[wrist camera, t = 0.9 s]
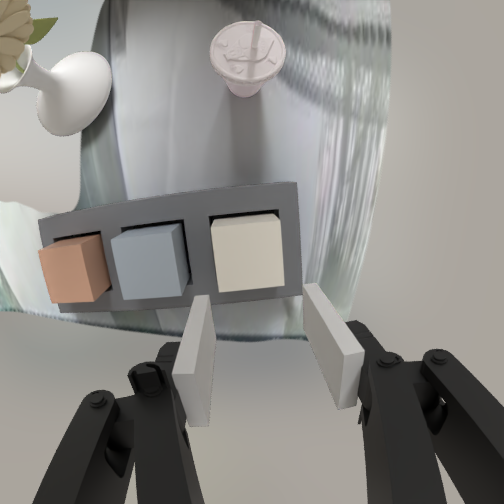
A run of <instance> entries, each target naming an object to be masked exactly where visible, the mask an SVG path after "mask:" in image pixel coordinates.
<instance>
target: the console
mask: <svg viewBox="0 0 504 504" xmlns="http://www.w3.org/2000/svg"><path fill="white" fill-rule="evenodd" d="M273 209H274V215H275V216H276V217H277V218H278V219H279V220H280V222H281V237H282V251H283V267H284V284H285V286H276V287H268V288H258V289H249V290H239V291H229V292H219V288H218V281H217V274H216V267H215V259H214V251H213V243H212V235H211V225H212V223H213V220H212V216H213V215H222V214H231V213H241V212H251V211H262V210H273ZM179 219H184V225H185V232H186V240H187V247H188V253H189V260H190V266H191V273H189V280H188V282H187V285H186V287H185V289H184V292H183V294H182V296H173V297H160V298H146V299H131V300H124V299H123V295H122V291H121V287H120V283H119V279H118V274H117V270H116V265H115V260H114V255H113V250H112V245H111V239H113V238H115V237H116V236H118V235H120V234H122V233H123V232H125V231H127V230H130V229H134V226H133V225H141V224H148V223H155V222H163V221H171V220H179ZM38 224H39V230H40V235H41V240H42V245H43V248H45V247H47V246H49V245H51V244H53V243H55V242H58V241H60V240H64V239H70V235H75V234H81V233H87V232H93V231H100V230H101V236H102V241H103V247H104V252H105V256H106V261H107V266H108V270H109V275H110V279H111V283H112V285H111V286H110V287H109V288H108V289H107V290H105V291H104V292H103V293H102V294H101V295H100V296H99V297H98V298H97V299H96V300H95V301H94V302H75V303H58V306H59V309H60V312H61V313H77V312H108V311H130V310H148V309H163V308H178V307H191V306H192V303H193V300H194V297H195V296H198V295H209V298H210V304H211V305H214V304H225V303H236V302H246V301H255V300H264V299H273V298H282V297H290V296H298V295H303V290H302V263H301V241H300V223H299V208H298V193H297V182H277V183H265V184H254V185H243V186H233V187H223V188H214V189H206V190H198V191H190V192H182V193H175V194H168V195H161V196H154V197H148V198H141V199H135V200H129V201H123V202H117V203H112V204H106V205H101V206H95V207H90V208H85V209H80V210H75V211H71V212H66V213H61V214H57V215H53V216H49V217H46V218H43V219H39V220H38Z"/></svg>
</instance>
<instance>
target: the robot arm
mask: <svg viewBox="0 0 504 504" xmlns="http://www.w3.org/2000/svg"><path fill="white" fill-rule="evenodd" d="M302 286H303V329H304V331H305V334H306V336H307V338H308V341H309V343H310V345H311V348H312V350H313V352H314V354H315V357H316V359H317V361H318V364H319V366H320V369H321V371H322V373H323V376H324V378H325V380H326V383H327V385H328V387H329V390H330V392H331V395H332V397H333V399H334V402H335V404H336V407H337V409H338V410H340V409H344V408H349V407H353V406H356V404H357V398H358V397H359V399H360V400H361V402H362V406H361V411H360V415H359V420H358V424H361V421H362V430H363V439H364V450H365V461H366V476H367V497H368V504H447V502H446V497H445V493H444V487H443V483H442V480H441V475H440V471H439V467H438V463H437V459H436V456H435V453H436V455H437V457H438V458H439V460H440V461H441V463H442V465H443V466H444V468H445V470H446V471H447V473H448V475H449V476H450V478H451V480H452V482H453V483H454V485H455V487H456V488H457V490H458V492H459V494H460V496H461V497H462V499H463V501H464V503H465V504H504V407H503V406H502V405H501V404H500V403H499V402H498V400H497V399H496V398H495V397H494V396H493V395H492V394H491V393H490V392H489V391H488V390H487V389H486V388H485V387H484V386H483V385H482V384H481V383H480V382H479V381H478V380H477V379H476V378H475V377H474V376H473V375H472V374H471V373H470V372H469V371H468V370H467V369H466V368H465V367H464V366H463V365H462V364H461V363H460V362H459V361H458V360H457V359H456V358H455V357H454V356H453V355H452V354H451V353H450V352H448V351H446V350H443V349H432V350H429V351H427V352H426V353H425V354H424V356H423V360H422V361H412V362H404V360H403V359H402V357H401V356H399V355H397V354H396V353H392V352H386V351H385V350H384V348H383V347H382V346H381V345H380V343H379V342H378V341H377V339H376V338H375V337H373V335H372V333H371V332H370V331H369V330H368V328H367V327H366V326H365V325H364V324H362V323H360V322H358V321H357V320H355V321H349V322H344V321H343V319H342V318H341V316H340V315H339V314H338V312H337V311H336V309H335V308H334V307H333V305H332V304H331V302H330V301H329V300H328V298H327V297H326V296H325V294H324V293H323V291H322V290H321V289H320V287H319V286H318V284H317V283H311V284H303V285H302ZM215 347H216V334H215V328H214V322H213V316H212V310H211V304H210V298H209V295H198V296H195V297H194V300H193V303H192V307H191V310H190V313H189V316H188V320H187V323H186V326H185V330H184V333H183V336H182V340H181V342H167V343H166V344H164V345H163V346H162V347H161V348H160V350H159V352H158V355H157V358H156V360H155V362H144V363H140V364H138V365H136V366H134V367H133V368H132V369H131V370H130V371H129V373H128V375H127V376H128V378H129V381H130V383H131V385H132V388H133V390H134V393H135V395H132V396H128V397H123V398H118V399H115V397H114V395H113V394H112V393H111V392H110V391H106V390H97V391H94V392H91V393H90V394H88V395H87V396H86V397H85V398H84V399H83V401H82V402H81V405H80V406H79V408H78V410H77V412H76V413H75V415H74V417H73V419H72V421H71V423H70V425H69V427H68V429H67V431H66V432H65V435H64V436H63V438H62V440H61V442H60V445H59V447H58V448H57V450H56V453H55V455H54V457H53V459H52V461H51V463H50V465H49V467H48V469H47V471H46V474H45V476H44V478H43V480H42V482H41V485H40V487H39V489H38V491H37V494H36V496H35V498H34V501H33V503H32V504H124V503H125V498H126V494H127V490H128V486H129V482H130V478H131V474H132V470H133V466H134V462H135V473H136V488H137V500H138V504H205V503H204V500H203V496H202V493H201V489H200V485H199V481H198V477H197V474H196V469H195V465H194V461H193V456H192V452H191V448H190V443H189V438H188V434H187V431H186V429H185V423H186V419H187V421H188V424H189V426H190V427H193V426H209V418H210V405H211V393H212V381H213V369H214V358H215ZM442 398H443V400H444V401H445V402H446V403H444V402H443V401H442Z"/></svg>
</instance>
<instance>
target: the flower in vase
mask: <svg viewBox="0 0 504 504" xmlns="http://www.w3.org/2000/svg"><path fill="white" fill-rule="evenodd" d="M27 3H28V0H0V93H7V92H10V91H11V90H13V89H14V88H16V87H20V86H27V87H33V88H36V89H39V93H38V97H37V114H38V118H39V120H40V122H41V124H42V125H43V127H44V128H45V129H46V130H47V131H48V132H50V133H51V134H53V135H56V136H69V135H73V134H75V133H78V132H79V131H81V130H83V129H84V128H86V127H87V126H88V125H89V124H90V123H91V122H93V120H94V119H95V118H96V117H97V116H98V115H99V113H100V112H101V110H102V109H103V107H104V105H105V103H106V101H107V99H108V96H109V93H110V90H111V84H112V72H111V68H110V66H109V63H108V62H107V60H106V59H105V58H104V57H103V56H102V55H100V54H98V53H96V52H89V51H82V52H77V53H73V54H71V55H69V56H67V57H65V58H63V59H62V60H61V61H59V62H58V63H57V64H56V65H55V66H54V67H53V68H52V69H51V70H50V71H49V70H46V69H44V68H43V67H41V66H40V65H38V64H37V63H36V62H35V60H34V59H33V57H32V48H31V46H30V44H35V43H37V42H38V41H40V40H41V39H42V38H43V37H44V36H45V35H46V34H47V33H48V32H49V31H50V29H51V28H52V27H53V25H54V24H55V23H56V21H57V20H58V18H44V19H34V20H33V19H32V18H31V17H30V10H31V7H30V5H29V4H27Z"/></svg>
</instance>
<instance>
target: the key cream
mask: <svg viewBox="0 0 504 504" xmlns="http://www.w3.org/2000/svg"><path fill="white" fill-rule="evenodd" d="M211 235H212V243H213V251H214V259H215V267H216V274H217V281H218V288H219V292H229V291H239V290H249V289H258V288H268V287H276V286H285V284H284V267H283V251H282V237H281V222H280V220H279V219H278V218H277V217H276V216H275V215H274V214H273V213H268V214H258V215H248V216H238V217H228V218H219V219H214V221H213V223H212V225H211Z"/></svg>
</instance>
